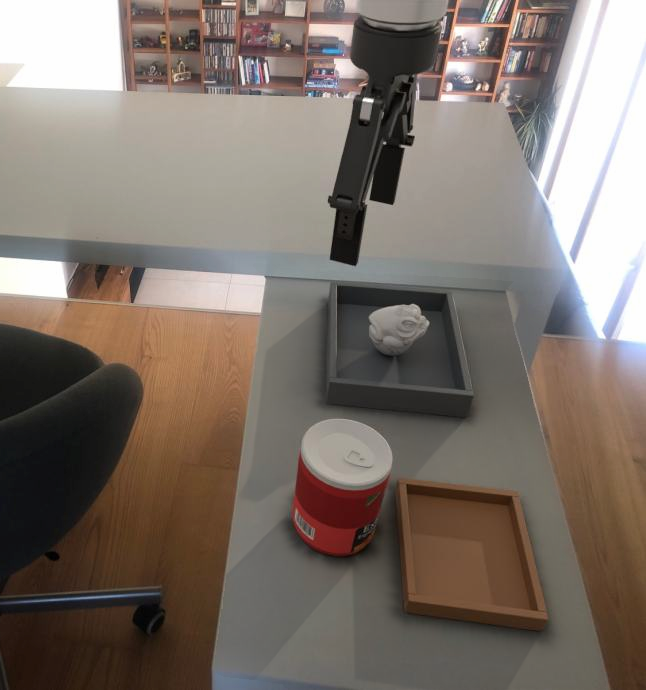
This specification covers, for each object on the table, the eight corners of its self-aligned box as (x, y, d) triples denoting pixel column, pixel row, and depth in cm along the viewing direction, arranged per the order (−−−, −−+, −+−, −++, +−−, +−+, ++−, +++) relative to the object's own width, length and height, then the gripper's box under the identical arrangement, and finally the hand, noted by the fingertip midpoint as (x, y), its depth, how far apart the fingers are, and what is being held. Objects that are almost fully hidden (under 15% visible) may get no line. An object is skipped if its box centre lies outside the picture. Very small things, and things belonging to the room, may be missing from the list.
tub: (466, 417, 78) (474, 395, 76) (325, 403, 80) (329, 381, 78) (446, 311, 93) (452, 290, 90) (327, 302, 95) (330, 281, 92)
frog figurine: (412, 375, 83) (424, 330, 78) (355, 356, 85) (364, 312, 81) (425, 345, 87) (437, 301, 82) (371, 329, 89) (380, 285, 85)
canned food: (368, 568, 64) (388, 495, 57) (283, 545, 66) (292, 471, 59) (378, 503, 69) (398, 429, 62) (299, 483, 71) (309, 409, 64)
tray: (541, 631, 59) (549, 620, 58) (404, 612, 61) (408, 600, 59) (512, 503, 69) (518, 491, 68) (394, 489, 71) (398, 477, 69)
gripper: (394, -20, 70) (364, 173, 84) (307, 55, 53) (287, 281, 67) (471, -13, 67) (427, 186, 81) (404, 69, 51) (363, 301, 64)
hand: (363, 229), depth 74 cm, fingers open, 13 cm apart
